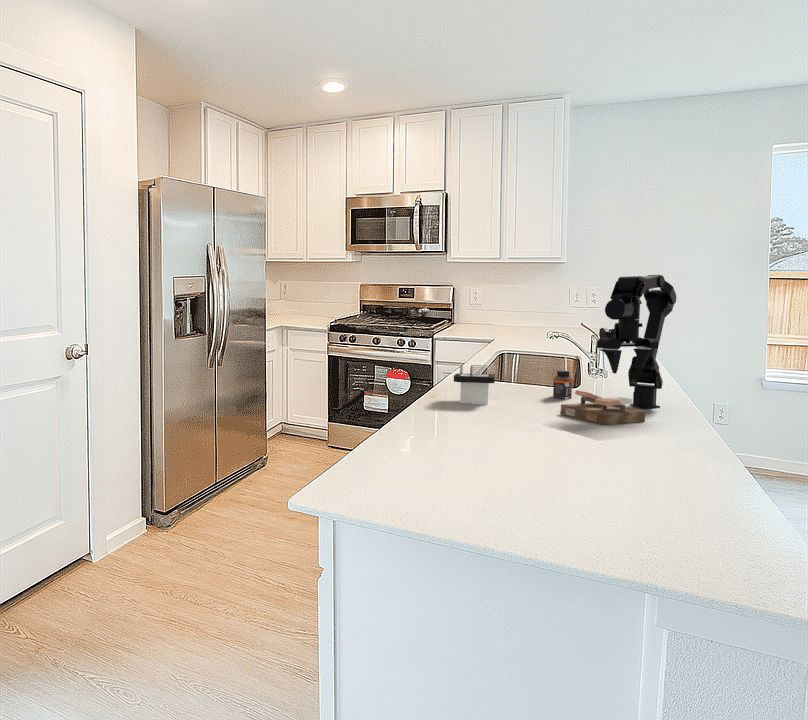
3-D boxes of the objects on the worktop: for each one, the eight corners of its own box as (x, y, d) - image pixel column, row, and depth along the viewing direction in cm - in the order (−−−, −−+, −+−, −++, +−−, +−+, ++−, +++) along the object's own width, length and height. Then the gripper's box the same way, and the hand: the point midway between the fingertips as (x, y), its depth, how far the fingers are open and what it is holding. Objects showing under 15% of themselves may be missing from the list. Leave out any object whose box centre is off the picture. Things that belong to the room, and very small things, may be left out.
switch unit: (599, 411, 182) (600, 395, 182) (644, 421, 166) (645, 404, 166) (559, 414, 176) (560, 397, 176) (602, 425, 160) (603, 407, 159)
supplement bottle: (572, 406, 193) (573, 371, 192) (553, 405, 194) (554, 371, 193) (570, 403, 199) (571, 370, 198) (552, 402, 200) (553, 369, 199)
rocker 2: (617, 403, 171) (618, 396, 171) (633, 406, 166) (633, 399, 166) (593, 406, 167) (593, 399, 167) (608, 409, 162) (608, 402, 162)
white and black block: (517, 401, 201) (518, 363, 200) (519, 414, 175) (520, 370, 174) (435, 399, 206) (436, 361, 205) (426, 411, 180) (426, 367, 179)
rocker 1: (595, 404, 179) (596, 397, 179) (608, 407, 174) (610, 400, 174) (573, 396, 176) (575, 390, 176) (586, 399, 170) (588, 392, 170)
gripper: (632, 319, 182) (629, 369, 184) (584, 319, 175) (582, 371, 176) (660, 320, 172) (658, 373, 173) (611, 319, 165) (609, 375, 166)
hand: (626, 372), depth 172 cm, fingers open, 9 cm apart
